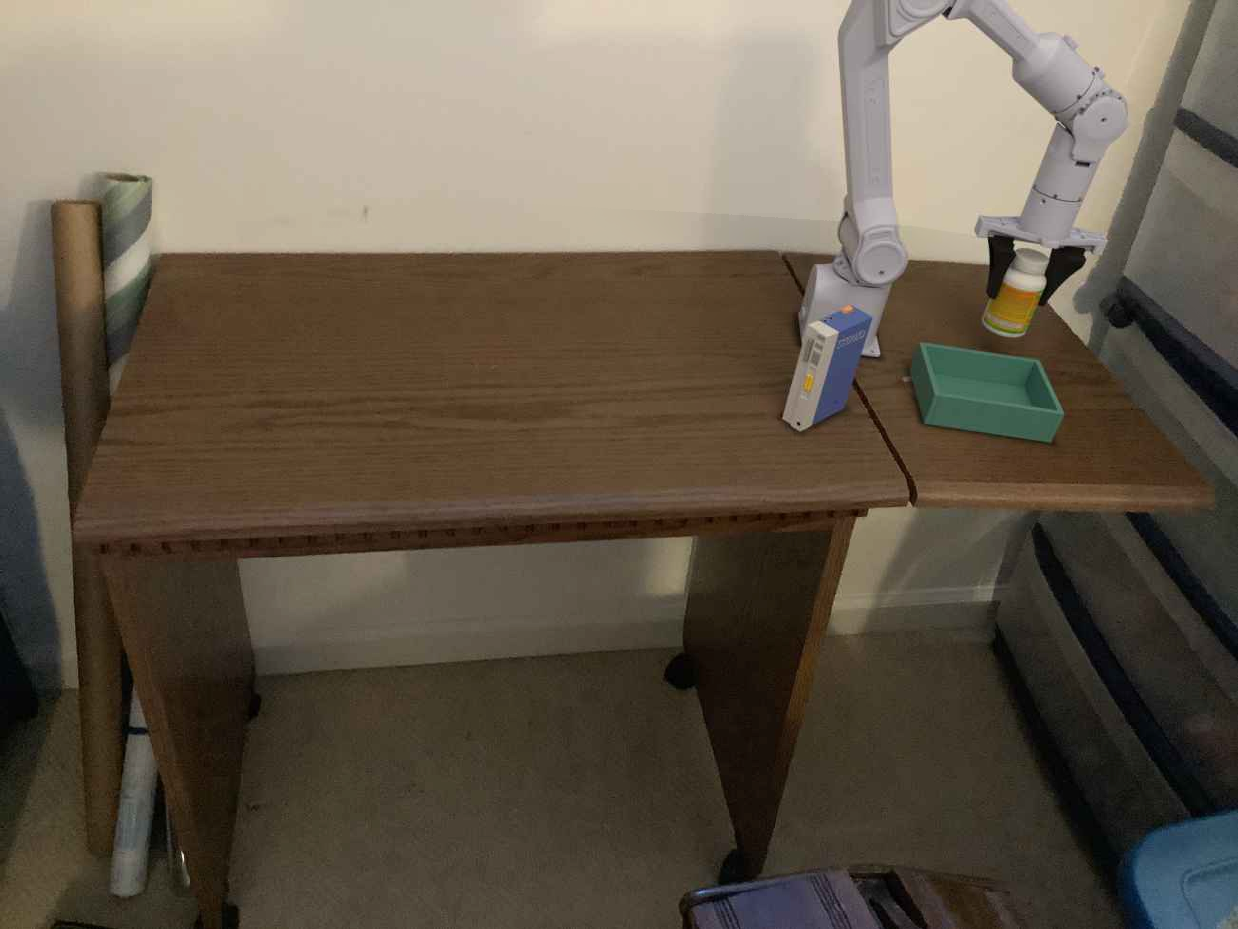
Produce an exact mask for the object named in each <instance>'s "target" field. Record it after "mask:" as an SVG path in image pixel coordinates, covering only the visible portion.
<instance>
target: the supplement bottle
mask: <svg viewBox="0 0 1238 929" xmlns="http://www.w3.org/2000/svg"><path fill="white" fill-rule="evenodd" d="M1014 251H1015V253H1016V255H1017V256H1016V257H1015V258H1014V260H1013V262H1012V263H1011V265H1010V267H1009V268H1008V270H1007V272H1006V274H1005V276H1004V279H1003V282H1002V285H1001V287H1000V290H999V293H998V295H997V297H996V298H995V299H990V298H988V302H987V304H986V307H985V309H984V311H983V315H982V317H981V323H982V325H983V326H984V328H986V329H987V330H988V331H989V332H991V333H993V334H995V335H998V336H1001V337H1004V338H1011V339H1012V338H1013V339H1015V338H1020V337H1023V336H1025V334H1026V333H1027V331H1028V329H1029V326H1030V323H1031V321H1032V319H1033V317H1034V314H1035V312H1036V309H1037V307H1038V302H1039V300H1040V298H1041V295H1042V293H1043V291H1044V288H1045V286H1046V277H1045V276H1044V273H1045V270H1046V268H1047V266H1048V263H1049V257H1048V256H1047V254H1045V253H1043V252H1041V251H1039V250H1037V249H1033V248H1028V247H1020V248H1017V249H1014Z"/></svg>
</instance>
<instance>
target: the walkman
mask: <svg viewBox="0 0 1238 929" xmlns="http://www.w3.org/2000/svg"><path fill="white" fill-rule="evenodd" d="M872 318H873V317H872V316H870V315H868V314H866V313H865V312H863V311H861V310H859V309H857V308H855V307H854V306H847V307H845V308H843V309H842V310H841V311H839V312H836V313H834V314H832V315H829V316H827V317H825V318H822V319H820V320H818V321H816V322H813V323H811V324H809V325H808V326H807V329H806V333H805V337H804V340H803V344H802V343H801V348H800V352H799V355H798V359H797V361H796V366H795V369H794V372H793V373H794V374H793V376H792V377H793V378H792V381H791V385H790V389H789V393H788V395H787V399H786V403H785V406H784V411H783V415H782V418H781V419H782V420H784V421H785V422H786V423H788V424H790V426H791V427H792V428H793V429H795V430H797V431H798V432H802V431H805V430H807V429H808V428H810V427H812V426H814V425H815V424H817V423H819V422H821V421H823V420H825V419H827V418H829V417H830V416H833V415H834V414H836V413H838V412H841V411H842V410H844V409H845V406H846V403H847V402H848V398H849V394H850V391H851V389H852V385H853V382H854V378H855V375H856V372H857V369H858V365H859V363H860V359H861V356H862V355H861V353H862V350H863V347H864V344H865V340H866V337H867V334H868V331H869V328H870V325H871V321H872Z"/></svg>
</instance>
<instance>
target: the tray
mask: <svg viewBox="0 0 1238 929" xmlns="http://www.w3.org/2000/svg"><path fill="white" fill-rule="evenodd" d="M908 370H909V373H910V377H911V380H912V384H913V387H914V388H913V389H914V393H915V396H916V400H917V403H918V406H919V410H920V415H921V418H922V421H923V424H924V425H931V426H938V427H944V428H950V429H957V430H963V431H970V432H976V433H982V434H983V433H984V434H991V435H996V436H997V435H998V436H1004V437H1010V438H1017V439H1023V440H1030V441H1036V442H1042V443H1049V444H1051V443H1052V442H1053V439H1054V437H1055V435H1056V433H1057V431H1058V429H1059V427H1060V424H1061V423H1062V420H1063V419H1064V416H1065V412H1064V410H1063V408H1062V405H1061V403H1060V401H1059V399H1058V397H1057V395H1056V393H1055V390H1054V388H1053V386H1052V384H1051V382H1050V380H1049V378H1048V375H1047V374H1046V372H1045V369H1044V367H1043V365H1042V363H1041V361H1040V359H1034V358H1029V357H1021V356H1017V355H1016V356H1015V355H1008V354H1002V353H996V352H989V351H983V350H982V351H981V350H975V349H970V348H962V347H957V346H956V347H955V346H949V345H944V344H936V343H929V342H923V341H919V342H918V344H917V347H916V350H915V353H914V356H913V358H912V361H911V364H910V367H909V369H908Z"/></svg>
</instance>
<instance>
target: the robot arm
mask: <svg viewBox="0 0 1238 929" xmlns="http://www.w3.org/2000/svg"><path fill="white" fill-rule="evenodd" d="M941 15H942V17H943V18H945V19H946V20H947V21H954V20H955V21H956V20H961V19H967V20H968V21H969V22H971V23H972V24H973V25H974V26H975V27H976V28H978V30H980V32H982V33H983V34H984V35H985V36H986V37H988V39H990V41H992V42H993V43H995V45H997V46H998V47H999V48H1000V49H1001V50H1003V51H1004V52H1005V53H1006V54H1007V55H1008V56H1009V57H1010V58H1011V59H1012V65H1011V77H1012V80H1013V81H1014V82H1016V84H1018V85H1019V87H1020V88H1022V90H1024V91H1025V92H1026V93H1027V94H1028V95H1029V96H1031V98H1032V99H1034V101H1036V102H1037V103H1038V104H1039V105H1040V106H1041V107H1042V108H1043V109H1044V110H1045V111H1046V112H1048V113H1049V115H1051V116H1053V118H1054V120H1055V121H1056V125H1055V127H1054V129H1053V132H1052V135H1051V137H1050V138H1049V139H1050V140H1049V142H1048V144H1047V146H1046V150H1045V152H1044V154H1043V157H1042V159H1041V162H1040V164H1039V168H1038V170H1037V172H1036V175H1035V177H1034V180H1033V183H1032V185H1031V187H1030V190H1029V192H1028V195H1027V198H1026V200H1025V203H1024V205H1023V208H1022V210H1021V213H1020V215H1019V216H1017V215H1016V216H1014V215H1011V216H1010V215H1006V216H1005V215H1003V216H1002V215H1000V216H999V215H982V214H979V215H978V218H977V221H976V223H975V226H974V229H973V231H974V233H975V235H976V237H977V238H980V239H987V246H988V256H989V258H988V260H989V262H988V264H989V265H988V266H989V267H988V279H987V284H986V289H985V292H986V295H987V297H988V299H995V298H996V297H997V295H998V293H999V290H1000V287H1001V285H1002V282H1003V279H1004V276H1005V274H1006V272H1007V270H1008V268H1009V267H1010V265H1011V264H1012V262H1013V260H1014V258H1015V257H1016V256H1017V255H1016V253H1015V246H1016V244H1015V243H1014V242H1015V241H1016V242H1020V243H1021V242H1022V243H1027V244H1028V243H1030V244H1036V245H1040V246H1041V247H1043V248H1046V249H1047V248H1048V249H1051V251H1050V254H1049V257H1048V258H1049V263H1048V266H1047V268H1046V270H1045V272H1044V273H1043V274H1044V276H1045V277H1046V286H1045V288H1044V291H1043V293H1042V295H1041V298H1040V300H1039V302H1038V305H1037V307H1045V306H1046V304H1047V303H1048V301H1049V300H1050V299H1051V297H1052V296H1053V295H1054V294H1055V293H1056V291H1057V290H1059V288H1060V287H1061V286H1062V285H1063V284H1064V283H1065V282H1066V281H1067V280H1068V279H1069V278H1070V277H1072V276H1073V275H1074V274H1075V273H1077V272H1078V271H1080V270H1081V269H1083V267H1084V266H1085V264H1086V262H1087V258H1086V256H1085V253H1086V252H1088V253H1091V254H1092V255H1093V256H1097V257H1101V256H1103V253H1104V251H1105V249H1106V246H1107V245H1108V242H1109V240H1108V239H1107V238H1106V236H1105V235H1104V233H1101V232H1095V231H1091V230H1087V229H1084V228H1080V227H1075V226H1074V223H1075V221H1076V220H1077V217H1078V214H1079V212H1080V210H1081V207H1082V206H1083V203H1084V200H1085V198H1086V195H1087V193H1088V191H1089V189H1090V187H1091V184H1092V182H1093V179H1094V177H1095V175H1096V173H1097V170H1098V168H1099V165H1100V164H1101V161H1102V159H1104V157H1105V154H1106V151H1107V150H1108V148H1109V147H1110V146H1111V144H1113V143H1114V142H1115V141H1117V140H1118V139H1119V138H1120V137H1121V136H1122V135H1123V134H1124V133H1125V132H1126V130H1127V129H1128V128H1129V125H1130V121H1128V115H1129V108H1128V105H1129V104H1128V101H1127V99H1126V98H1125V96H1124V95H1123V94H1122V93H1120V92H1119V91H1118V90H1116V88H1114V87H1113V86H1112V85H1110V84H1109V83H1108V82H1107V81H1105V80H1104V78H1106V75H1107V73H1106V72H1105V70H1103V69H1102V68H1101V67H1100V66H1099V65H1096V66H1094V67H1093V66H1092V65H1091V64H1090V63H1089V62H1088V61H1086V59H1085V58H1084V57H1082V56H1081V55H1080V54H1079V53H1078V52H1077V51H1076V49H1077V48H1078V47H1079V43H1078V42H1077V41H1076V40H1075V39H1074V38H1073V37H1072V36H1070V35H1069V34H1064V35H1063V37H1062V36H1061V35H1060V34H1059V33H1058V32H1053V31H1051V32H1041V33H1037V32H1035V30H1034V29H1033V28H1031V27H1030V26H1029V25H1028V23H1027V22H1026V21H1025V20H1024V19H1023V18H1022V17H1021V16H1020V15H1019V14H1018V12H1016V10H1014V9H1013V7H1012V6H1010V4H1009V3H1007V2H1006V0H851V2H850V4H849V6H848V9H847V10H846V13H845V15H844V17H843V19H842V22H841V24H840V25H839V27H838V30H837V52H838V53H837V54H838V69H839V83H840V84H839V86H840V99H841V101H840V102H841V114H842V115H841V118H842V132H843V134H842V135H843V147H844V148H843V149H844V163H845V166H844V167H845V179H846V195H845V196H844V197H843V200H842V201H843V212H842V215H841V217H840V220H839V222H838V225H837V230H836V232H837V233H836V234H837V235H836V236H837V238H838V241H839V244H840V245H841V248H840V251H839V252H838V253H837V255H836V256H835V258H834V260H833V262H831V263H814V264H813V266H812V268H811V270H810V274H809V277H808V281H807V284H806V288H805V292H804V296H803V299H802V304H801V306H800V310H799V312H798V315H797V317H798V324H799V325H798V326H799V332H800V333H799V334H800V343H801V345H802V344H803V340H804V337H805V333H806V329H807V326H808V325H809V324H811V323H813V322H816V321H818V320H820V319H822V318H825V317H827V316H829V315H832V314H834V313H836V312H839V311H841V310H842V309H843V308H845V307H847V306H854V307H855V308H857V309H859V310H861V311H863V312H865V313H866V314H868V315H870V316H872V317H873V318H872V321H871V325H870V328H869V331H868V334H867V337H866V340H865V344H864V347H863V350H862V353H861V356H866V357H872V358H879V357H880V356H881V350H880V346H879V342H878V341H879V340H878V336H877V332H878V329H879V327H880V323H881V319H882V317H883V313H884V310H885V307H886V304H887V302H888V299H889V295H890V292H891V289H892V286H893V283H894V282H895V281H896V280H898V279H899V278H900V277H901V275H902V274H903V273H904V272H905V270H906V268H907V265H908V263H909V250H908V248H907V245H905V243H904V241H903V240H902V238H901V236H900V229H899V228H900V226H899V220H898V214H897V211H896V207H895V201H894V193H893V192H894V191H893V190H894V188H893V162H892V161H893V160H892V133H891V132H892V131H891V104H890V101H891V100H890V73H889V72H890V71H889V54H890V53H891V52H892V51H893V49H895V48H896V46H897V45H898V44H900V42H902V40H903V39H904V38H905V37H907V36H909V35H910V34H912V33H913V32H915V31H917V30H919V29H920V28H922V27H923V26H924V27H925V25H927V24H928V23H930V22H932V21H934V20H935V19H937V18H938V17H940V16H941Z"/></svg>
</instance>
